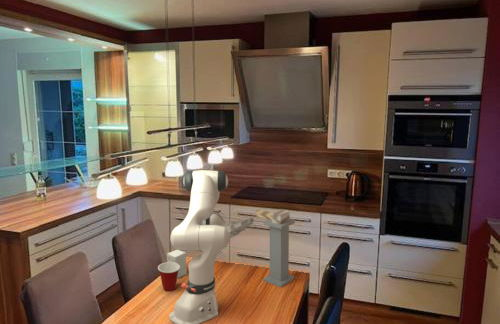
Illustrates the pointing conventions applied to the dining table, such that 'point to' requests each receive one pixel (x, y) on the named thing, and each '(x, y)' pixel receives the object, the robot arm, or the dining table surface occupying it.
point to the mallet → (274, 215)
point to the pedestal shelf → (279, 253)
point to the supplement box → (178, 261)
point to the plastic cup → (169, 275)
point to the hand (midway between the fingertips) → (247, 221)
